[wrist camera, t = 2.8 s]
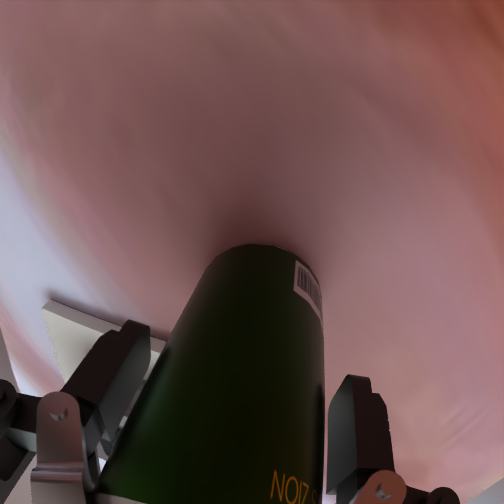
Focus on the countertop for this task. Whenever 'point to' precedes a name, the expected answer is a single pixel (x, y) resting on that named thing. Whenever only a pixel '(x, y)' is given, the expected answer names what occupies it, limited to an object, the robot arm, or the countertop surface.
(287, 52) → the countertop surface
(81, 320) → the holder plate
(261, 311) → the beer can
